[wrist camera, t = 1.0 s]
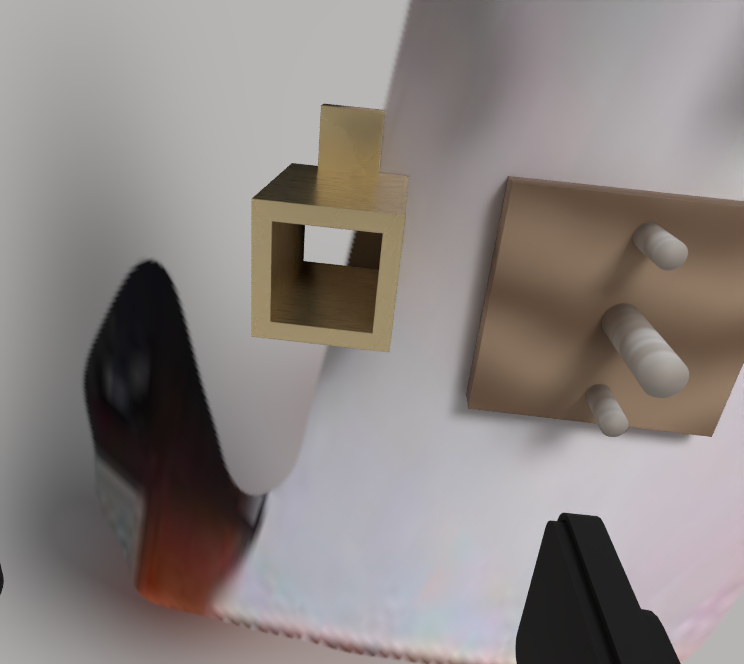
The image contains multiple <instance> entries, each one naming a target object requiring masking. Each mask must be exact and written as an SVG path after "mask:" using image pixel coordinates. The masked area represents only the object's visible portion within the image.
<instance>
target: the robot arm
mask: <svg viewBox="0 0 744 664" xmlns="http://www.w3.org/2000/svg"><path fill="white" fill-rule="evenodd" d="M3 582H4V580H3V573H2V570H1V565H0V594H1V591H2V588H3ZM516 661H517V664H680V661H679V659H678V657H677V655H676V653H675V651H674V648H673V646H672V644H671V642H670V640H669V638H668V635H667V633H666V631H665V629H664V627H663V625H662V623H661V622H660V620H659V618H658V617H657V616H656V615H655V614H654V613H653V612H652V611H649V610H643V609H641V608H640V606H639V603H638V601H637V599H636V597H635V594H634V592H633V590H632V587H631V585H630V583H629V581H628V578H627V576H626V574H625V571H624V569H623V567H622V564H621V562H620V560H619V558H618V555H617V553H616V551H615V548H614V546H613V544H612V541H611V539H610V537H609V535H608V532H607V530H606V528H605V525H604V523H603V521H602V520H601V518H599V517H598V516H590V515H581V514H571V513H561V515H560V516H559V518H558V521H548V523H547V525H546V528H545V531H544V535H543V539H542V543H541V546H540V550H539V554H538V558H537V561H536V565H535V569H534V573H533V576H532V580H531V584H530V588H529V591H528V595H527V599H526V603H525V606H524V610H523V614H522V618H521V621H520V625H519V629H518V633H517V637H516Z"/></svg>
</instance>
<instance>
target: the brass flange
mask: <svg viewBox="0 0 744 664" xmlns="http://www.w3.org/2000/svg"><path fill="white" fill-rule="evenodd" d="M384 118H385V110H379V109H369V108H360V107H351V106H341V105H331V104H323V105H321V119H320V139H319V159H318V160H319V161H318V166H313V165H304V164H295V163H292V164H291V165H289V166H288V167H287V168H286V169H285V170H284V171H283V172H281V173H280V174H279V175H278V176H277V177H276V178H275V179H274V180H272V181H271V182H270V183H269V184H268V185H267V186H266V187H264V188H263V189H262V190H261V191H260V192H259V193H258V194H257V195H255V196H254V197H253V198H252V337H261V338H270V339H278V340H288V341H296V342H304V343H314V344H322V345H331V346H339V347H348V348H357V349H365V350H374V351H383V352H389V351H390V342H391V334H392V325H393V317H394V309H395V300H396V292H397V283H398V275H399V267H400V258H401V250H402V241H403V233H404V225H405V216H406V203H407V189H408V176H407V175H397V174H388V173H379V170H380V160H381V149H382V139H383V128H384ZM305 225H311V226H321V227H330V228H339V229H348V230H357V231H366V232H375V233H383V237H382V247H381V257H380V266H379V270H378V269H370V268H361V267H352V266H343V265H333V264H325V263H316V262H307V261H303V259H304V233H305Z"/></svg>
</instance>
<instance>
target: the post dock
mask: <svg viewBox="0 0 744 664" xmlns="http://www.w3.org/2000/svg"><path fill="white" fill-rule="evenodd" d="M743 363H744V201H735V200H726V199H716V198H707V197H698V196H688V195H679V194H670V193H660V192H651V191H641V190H632V189H623V188H613V187H604V186H595V185H585V184H576V183H567V182H557V181H548V180H539V179H529V178H520V177H511V176H508V181H507V186H506V192H505V197H504V202H503V207H502V212H501V218H500V223H499V228H498V233H497V238H496V243H495V249H494V254H493V259H492V264H491V269H490V275H489V280H488V285H487V290H486V295H485V301H484V306H483V311H482V316H481V321H480V327H479V332H478V337H477V342H476V347H475V352H474V358H473V363H472V368H471V373H470V378H469V384H468V389H467V394H466V396H467V403H468V408H469V409H478V410H486V411H495V412H503V413H512V414H521V415H529V416H538V417H546V418H555V419H563V420H572V421H581V422H589V423H598V425H599V427H600V429H601V431H602V433H603V434H605V435H607V436H610V437H616V436H619V435H621V434H623V433H624V432H625V431H626V430H627V429H628V427H632V428H641V429H649V430H658V431H666V432H675V433H683V434H692V435H701V436H709V437H712V435H713V433H714V431H715V428H716V426H717V424H718V421H719V419H720V417H721V414H722V412H723V410H724V407H725V405H726V403H727V400H728V398H729V396H730V393H731V391H732V389H733V386H734V384H735V382H736V379H737V377H738V375H739V372H740V370H741V368H742V365H743Z"/></svg>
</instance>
